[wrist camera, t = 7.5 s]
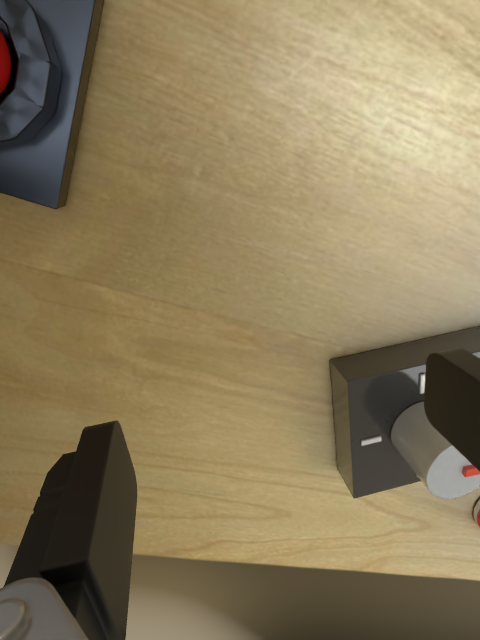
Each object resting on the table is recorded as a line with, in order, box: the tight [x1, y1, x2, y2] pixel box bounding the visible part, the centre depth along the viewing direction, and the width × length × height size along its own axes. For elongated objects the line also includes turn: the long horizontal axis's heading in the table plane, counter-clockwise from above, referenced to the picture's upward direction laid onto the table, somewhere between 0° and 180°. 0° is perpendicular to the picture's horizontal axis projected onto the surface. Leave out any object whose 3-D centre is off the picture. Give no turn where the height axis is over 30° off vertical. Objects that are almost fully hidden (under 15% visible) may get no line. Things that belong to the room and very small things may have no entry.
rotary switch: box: [330, 326, 480, 498], centre depth 28 cm, size 12×10×3 cm
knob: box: [391, 401, 480, 499], centre depth 24 cm, size 4×4×4 cm
